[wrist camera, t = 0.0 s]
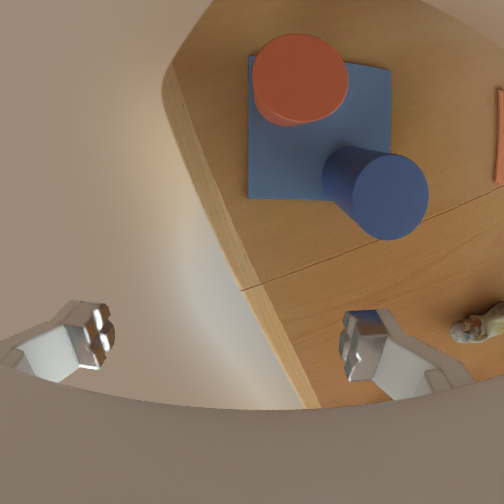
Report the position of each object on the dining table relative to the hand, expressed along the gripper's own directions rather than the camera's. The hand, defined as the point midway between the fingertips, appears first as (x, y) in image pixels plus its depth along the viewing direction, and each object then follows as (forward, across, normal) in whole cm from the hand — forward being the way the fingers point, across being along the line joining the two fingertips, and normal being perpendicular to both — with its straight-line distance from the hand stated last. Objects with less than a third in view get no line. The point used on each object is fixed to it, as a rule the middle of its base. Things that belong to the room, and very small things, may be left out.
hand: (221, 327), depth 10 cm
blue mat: (+21, -7, -7) cm, 23 cm away
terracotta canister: (+21, -4, -10) cm, 23 cm away
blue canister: (+21, -10, -2) cm, 23 cm away
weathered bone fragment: (+21, -34, +15) cm, 43 cm away
